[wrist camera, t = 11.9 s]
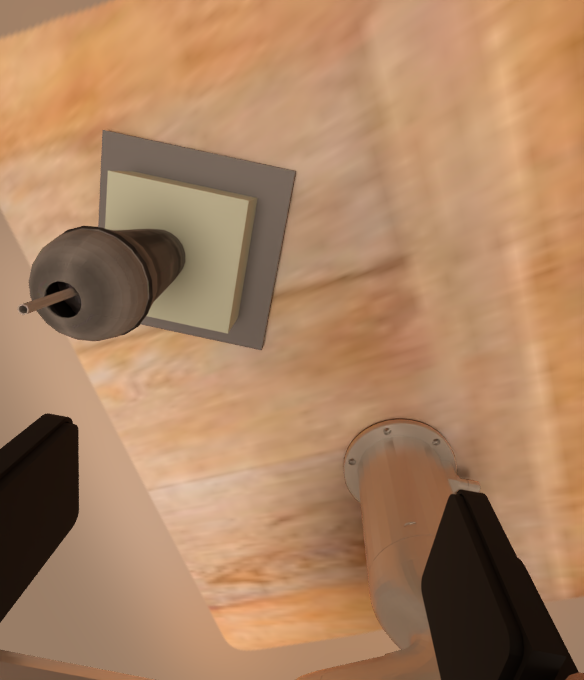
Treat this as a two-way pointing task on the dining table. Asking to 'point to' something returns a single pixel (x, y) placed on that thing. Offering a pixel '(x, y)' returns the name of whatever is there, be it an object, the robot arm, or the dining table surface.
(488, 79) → the dining table surface
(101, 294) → the beverage cup
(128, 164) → the plinth
